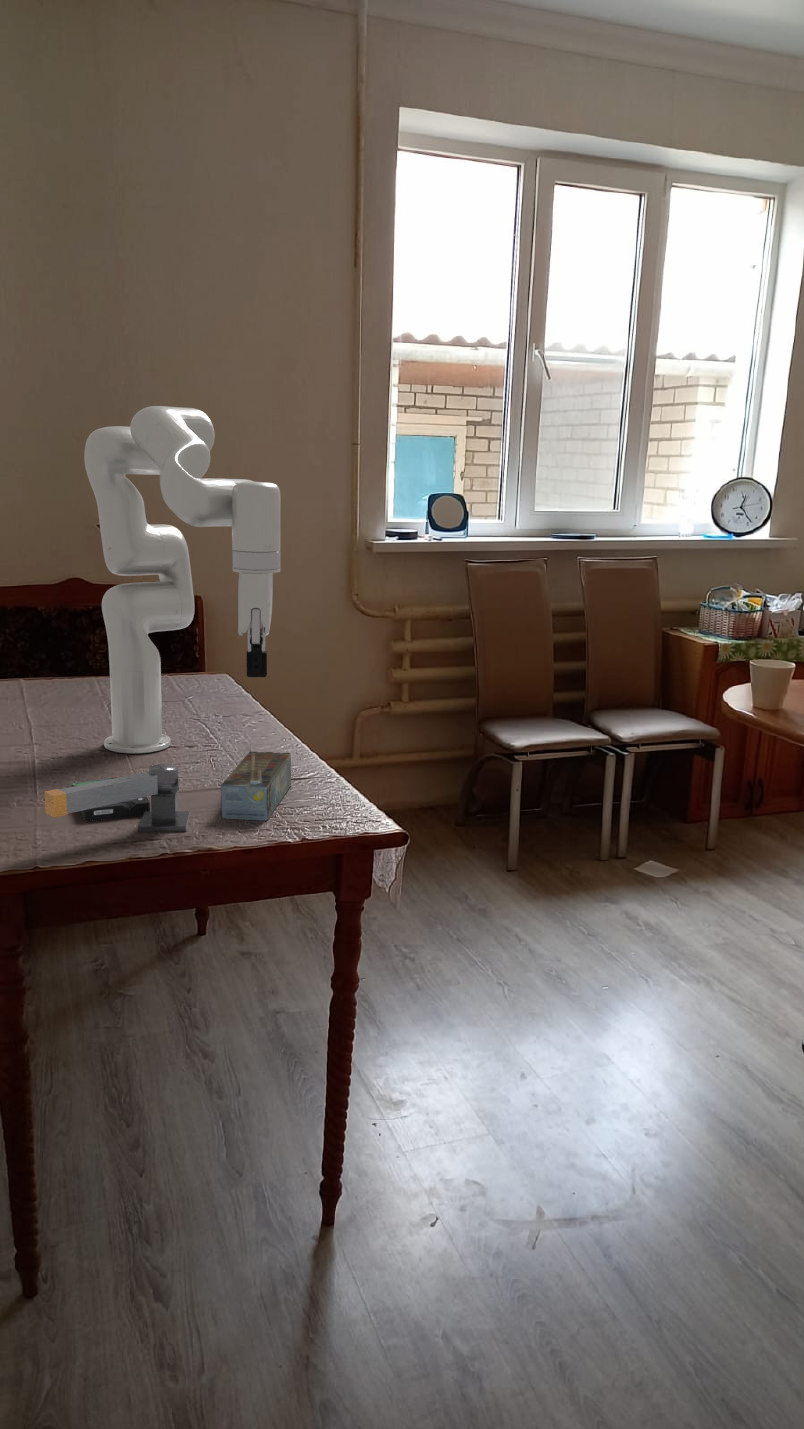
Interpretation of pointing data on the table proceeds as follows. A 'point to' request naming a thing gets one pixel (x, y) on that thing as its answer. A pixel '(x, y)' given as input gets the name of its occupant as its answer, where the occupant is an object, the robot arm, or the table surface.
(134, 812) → the disk drive
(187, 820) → the grey pedestal base
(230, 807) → the beverage carton
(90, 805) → the swing bar
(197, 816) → the table surface
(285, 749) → the table surface
